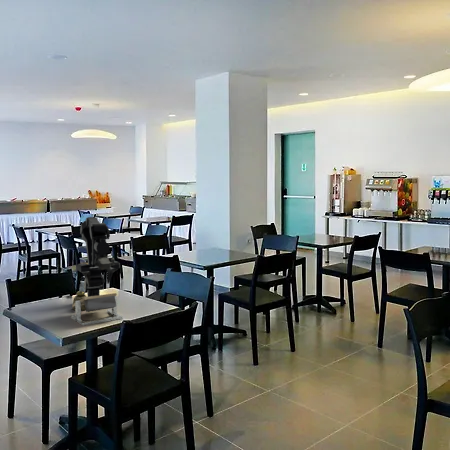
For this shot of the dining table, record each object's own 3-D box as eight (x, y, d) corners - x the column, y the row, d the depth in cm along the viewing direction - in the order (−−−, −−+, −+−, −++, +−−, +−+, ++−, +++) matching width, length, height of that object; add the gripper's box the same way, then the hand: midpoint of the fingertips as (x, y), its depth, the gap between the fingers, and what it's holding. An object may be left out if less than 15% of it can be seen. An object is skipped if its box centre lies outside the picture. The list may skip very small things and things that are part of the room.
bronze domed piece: (72, 290, 233) (72, 307, 234) (71, 294, 226) (71, 311, 227) (89, 289, 235) (89, 306, 236) (89, 293, 228) (89, 310, 229)
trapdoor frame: (71, 317, 217) (71, 298, 216) (110, 311, 228) (110, 293, 227) (82, 325, 207) (82, 305, 206) (122, 318, 218) (123, 299, 217)
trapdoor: (73, 317, 220) (71, 304, 221) (104, 312, 228) (102, 300, 230) (87, 310, 208) (84, 297, 209) (118, 305, 216) (116, 293, 217)
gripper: (85, 255, 218) (86, 290, 220) (125, 252, 230) (125, 285, 231) (76, 251, 227) (76, 285, 229) (114, 248, 238) (114, 281, 240)
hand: (98, 284), depth 232 cm, fingers open, 9 cm apart
